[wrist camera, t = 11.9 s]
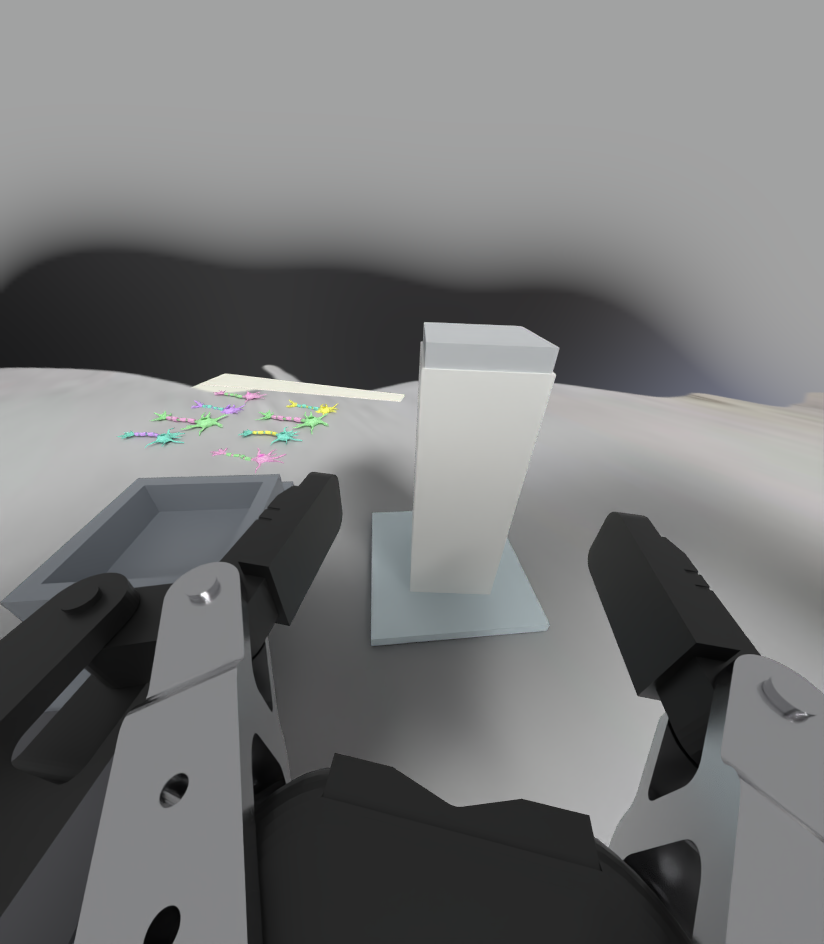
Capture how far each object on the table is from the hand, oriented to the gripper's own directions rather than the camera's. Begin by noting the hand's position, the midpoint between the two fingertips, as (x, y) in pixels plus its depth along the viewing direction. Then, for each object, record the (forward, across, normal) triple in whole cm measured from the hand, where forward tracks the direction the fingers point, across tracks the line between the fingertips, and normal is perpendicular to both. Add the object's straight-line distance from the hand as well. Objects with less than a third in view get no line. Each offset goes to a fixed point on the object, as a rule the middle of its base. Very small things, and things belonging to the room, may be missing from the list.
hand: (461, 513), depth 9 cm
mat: (+6, 0, +9) cm, 11 cm away
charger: (+5, 0, +8) cm, 10 cm away
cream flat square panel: (+21, +24, +10) cm, 33 cm away
